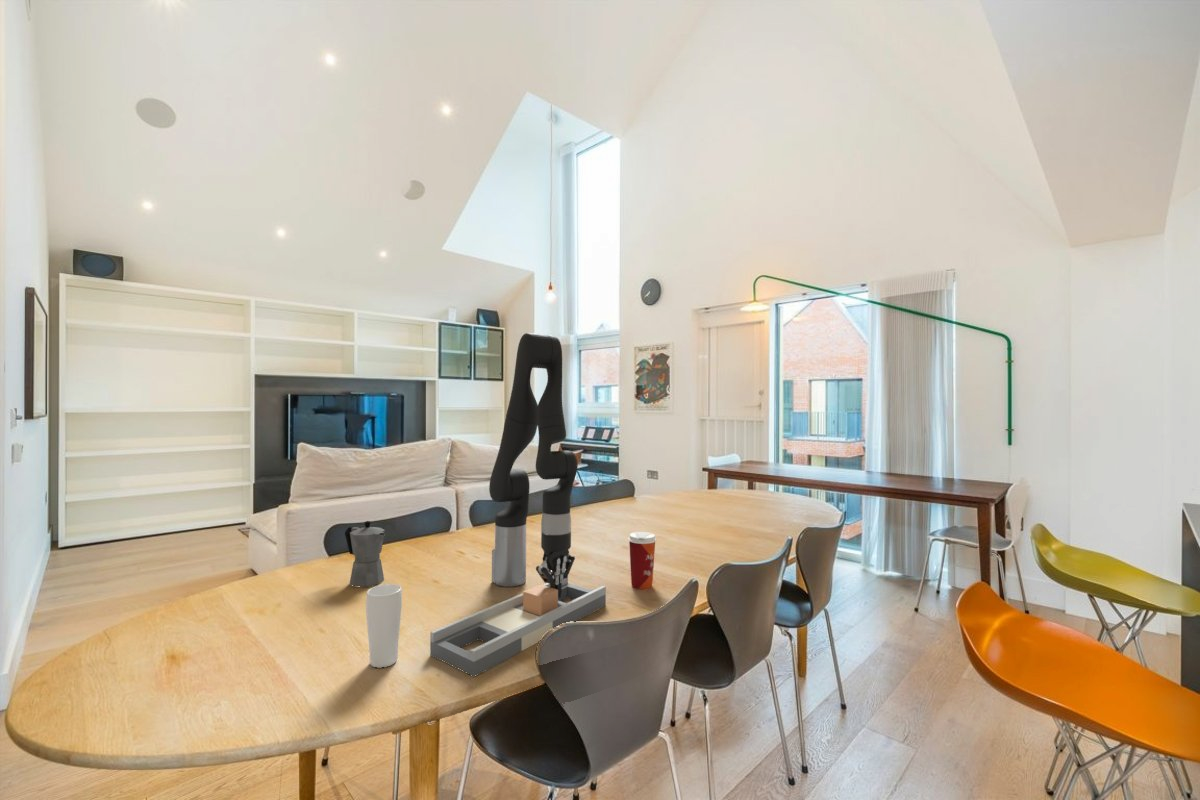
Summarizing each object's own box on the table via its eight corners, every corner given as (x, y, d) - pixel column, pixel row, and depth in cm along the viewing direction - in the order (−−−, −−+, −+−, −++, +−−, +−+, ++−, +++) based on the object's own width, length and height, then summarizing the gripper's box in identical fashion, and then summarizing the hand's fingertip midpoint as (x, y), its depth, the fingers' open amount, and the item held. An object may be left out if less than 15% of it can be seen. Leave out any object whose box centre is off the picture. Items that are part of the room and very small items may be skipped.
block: (539, 602, 130) (539, 584, 130) (557, 607, 127) (557, 589, 126) (523, 609, 125) (523, 591, 125) (541, 616, 122) (541, 597, 122)
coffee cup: (654, 592, 145) (655, 539, 145) (625, 590, 147) (626, 537, 147) (657, 582, 153) (657, 532, 153) (629, 580, 155) (630, 530, 155)
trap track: (565, 593, 144) (565, 575, 144) (605, 605, 136) (605, 586, 136) (430, 655, 109) (430, 631, 109) (473, 677, 100) (474, 651, 100)
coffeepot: (396, 580, 153) (396, 520, 153) (370, 591, 144) (371, 527, 144) (358, 572, 159) (358, 514, 159) (331, 582, 150) (332, 521, 150)
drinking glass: (391, 651, 110) (391, 581, 110) (407, 661, 106) (408, 589, 106) (359, 663, 105) (360, 590, 105) (376, 674, 101) (376, 598, 101)
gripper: (561, 522, 138) (561, 586, 138) (527, 532, 127) (526, 602, 127) (583, 526, 133) (583, 593, 133) (550, 537, 123) (549, 610, 123)
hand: (555, 597), depth 130 cm, fingers closed
